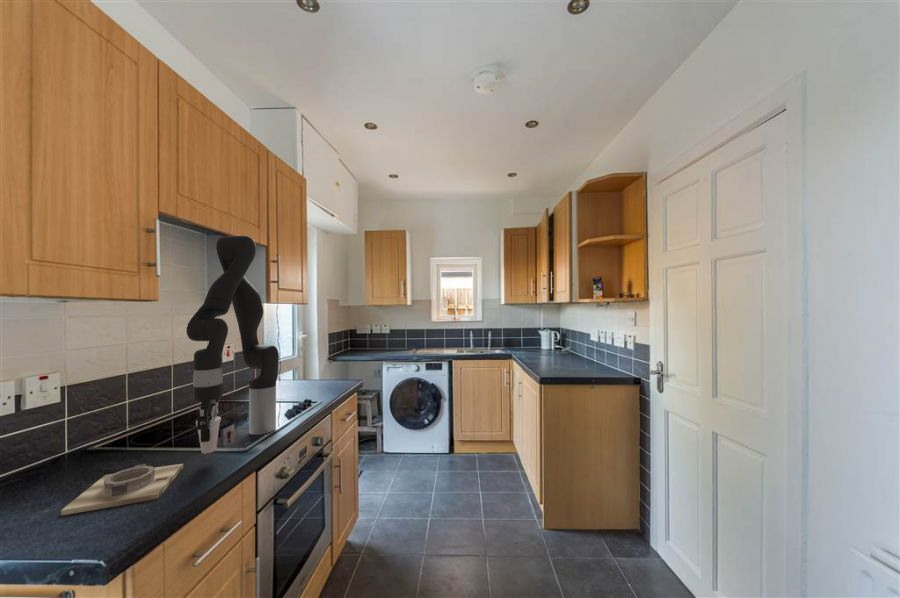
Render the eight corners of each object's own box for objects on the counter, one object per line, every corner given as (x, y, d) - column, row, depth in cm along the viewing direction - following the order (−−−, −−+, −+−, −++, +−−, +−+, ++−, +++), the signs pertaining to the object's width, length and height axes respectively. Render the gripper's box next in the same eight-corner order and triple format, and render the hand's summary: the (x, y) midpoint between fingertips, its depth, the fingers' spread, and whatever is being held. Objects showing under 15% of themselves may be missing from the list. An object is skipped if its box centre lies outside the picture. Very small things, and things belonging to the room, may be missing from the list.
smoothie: (208, 456, 102) (208, 409, 102) (190, 454, 103) (190, 408, 103) (226, 447, 108) (226, 402, 108) (209, 445, 109) (208, 401, 109)
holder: (105, 479, 96) (105, 466, 96) (183, 467, 102) (183, 455, 103) (61, 515, 79) (61, 499, 79) (157, 498, 86) (158, 483, 86)
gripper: (216, 387, 100) (217, 444, 100) (227, 377, 113) (228, 427, 113) (185, 389, 97) (185, 448, 97) (200, 379, 111) (201, 430, 111)
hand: (208, 437), depth 105 cm, fingers closed on smoothie, 6 cm apart
